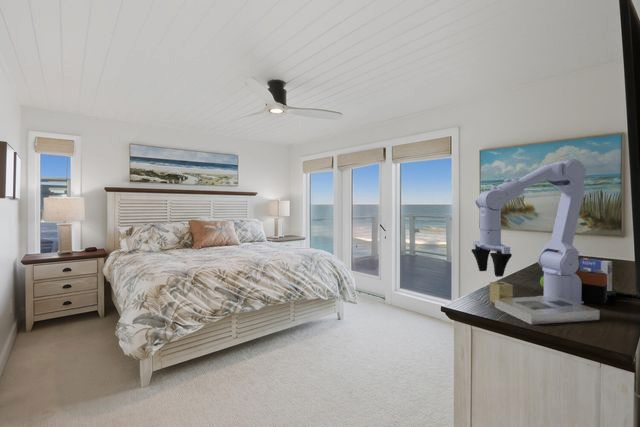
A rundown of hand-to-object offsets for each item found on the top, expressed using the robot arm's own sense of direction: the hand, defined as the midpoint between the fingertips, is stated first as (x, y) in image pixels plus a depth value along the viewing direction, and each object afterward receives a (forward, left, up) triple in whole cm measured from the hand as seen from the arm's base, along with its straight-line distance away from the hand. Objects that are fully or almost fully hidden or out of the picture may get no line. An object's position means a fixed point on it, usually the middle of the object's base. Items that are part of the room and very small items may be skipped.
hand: (490, 273), depth 99 cm
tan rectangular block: (-4, -1, -10) cm, 10 cm away
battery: (-32, +3, -10) cm, 34 cm away
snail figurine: (-30, -11, -10) cm, 34 cm away
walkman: (-40, -3, -10) cm, 41 cm away
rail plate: (-9, +10, -10) cm, 17 cm away
